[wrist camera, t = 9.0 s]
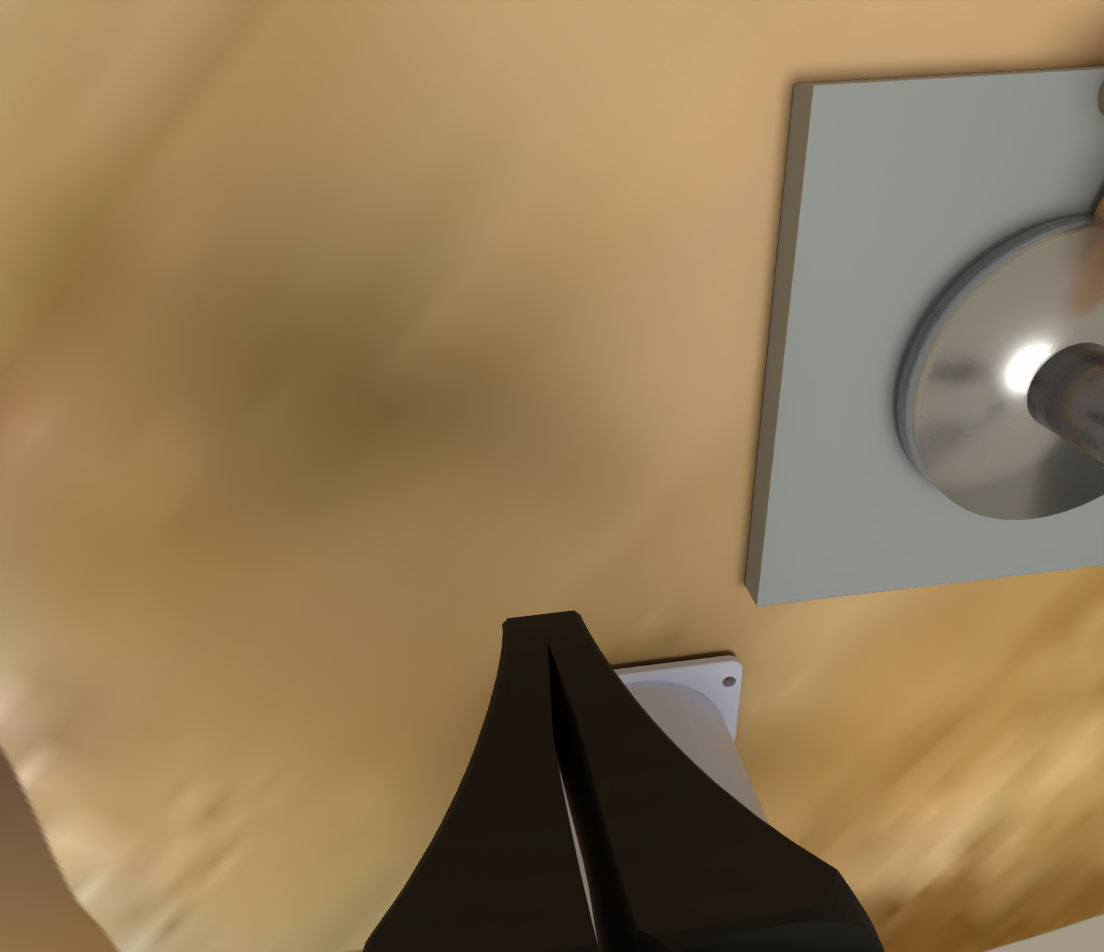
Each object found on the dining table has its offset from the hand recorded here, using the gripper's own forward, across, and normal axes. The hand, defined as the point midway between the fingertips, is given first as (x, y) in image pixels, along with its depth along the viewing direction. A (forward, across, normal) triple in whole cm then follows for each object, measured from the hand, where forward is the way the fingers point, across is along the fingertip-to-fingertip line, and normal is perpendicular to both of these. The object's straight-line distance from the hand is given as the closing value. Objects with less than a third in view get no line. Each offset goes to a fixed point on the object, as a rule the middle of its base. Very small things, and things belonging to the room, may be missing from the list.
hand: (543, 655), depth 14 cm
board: (+10, -17, 0) cm, 20 cm away
